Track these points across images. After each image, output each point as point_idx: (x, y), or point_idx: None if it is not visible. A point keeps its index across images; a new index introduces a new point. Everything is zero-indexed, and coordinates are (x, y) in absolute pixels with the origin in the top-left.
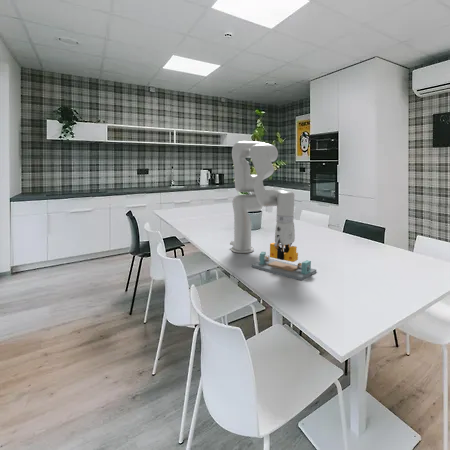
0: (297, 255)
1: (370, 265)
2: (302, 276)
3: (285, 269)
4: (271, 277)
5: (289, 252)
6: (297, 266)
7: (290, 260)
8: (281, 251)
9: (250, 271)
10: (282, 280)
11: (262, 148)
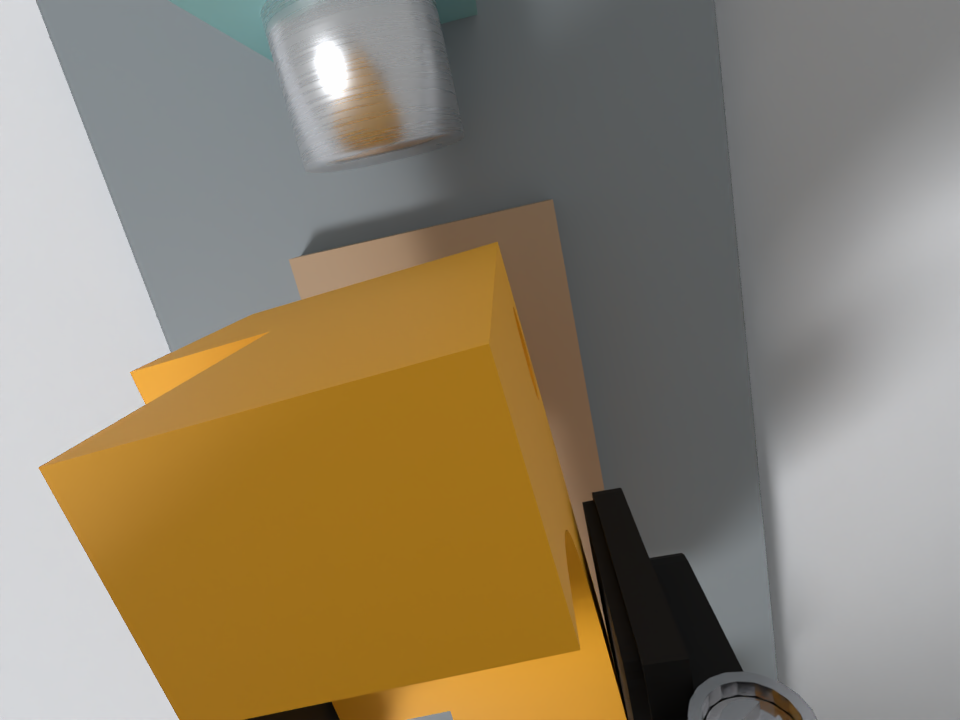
0: (213, 336)
1: None
2: None
3: (576, 347)
4: (940, 301)
5: (551, 468)
6: (461, 129)
7: (521, 330)
8: (773, 696)
9: (938, 659)
10: (935, 73)
11: None
